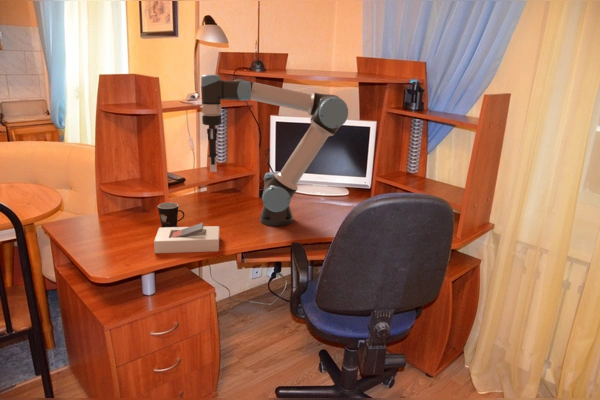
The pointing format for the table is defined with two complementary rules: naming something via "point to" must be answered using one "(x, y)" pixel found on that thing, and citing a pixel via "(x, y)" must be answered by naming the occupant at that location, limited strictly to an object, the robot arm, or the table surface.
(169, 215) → the coffee mug
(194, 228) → the breaker rocker
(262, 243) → the table surface
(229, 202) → the table surface
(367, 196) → the table surface
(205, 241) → the breaker panel
